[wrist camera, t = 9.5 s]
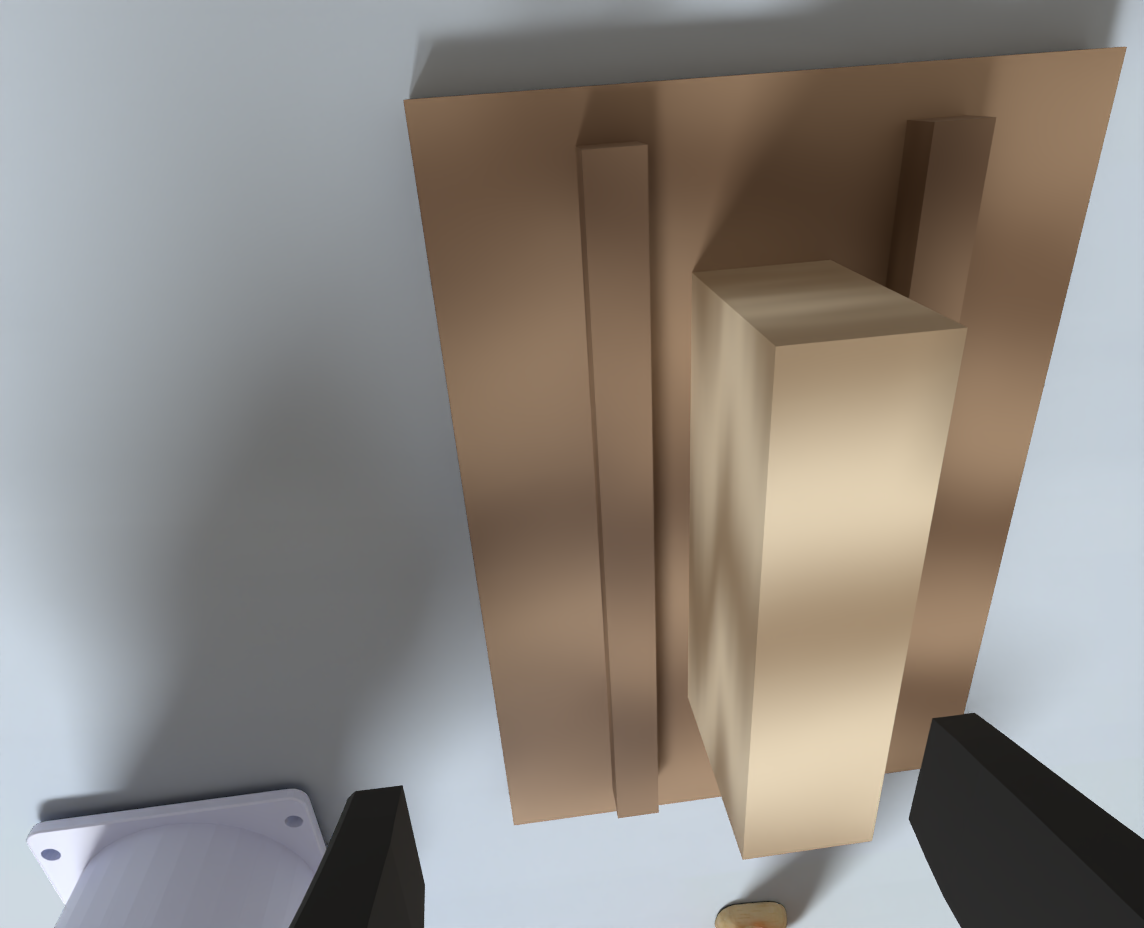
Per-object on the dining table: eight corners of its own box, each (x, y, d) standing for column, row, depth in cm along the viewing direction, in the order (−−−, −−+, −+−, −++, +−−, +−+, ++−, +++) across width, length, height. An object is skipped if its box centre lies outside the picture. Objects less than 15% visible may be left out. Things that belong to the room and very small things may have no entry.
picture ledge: (934, 739, 24) (969, 790, 23) (513, 797, 24) (515, 855, 22) (1089, 48, 15) (1169, 44, 14) (408, 99, 14) (397, 100, 13)
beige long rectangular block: (797, 682, 21) (880, 839, 17) (688, 696, 21) (742, 859, 17) (839, 259, 16) (980, 326, 11) (691, 272, 15) (776, 346, 11)
